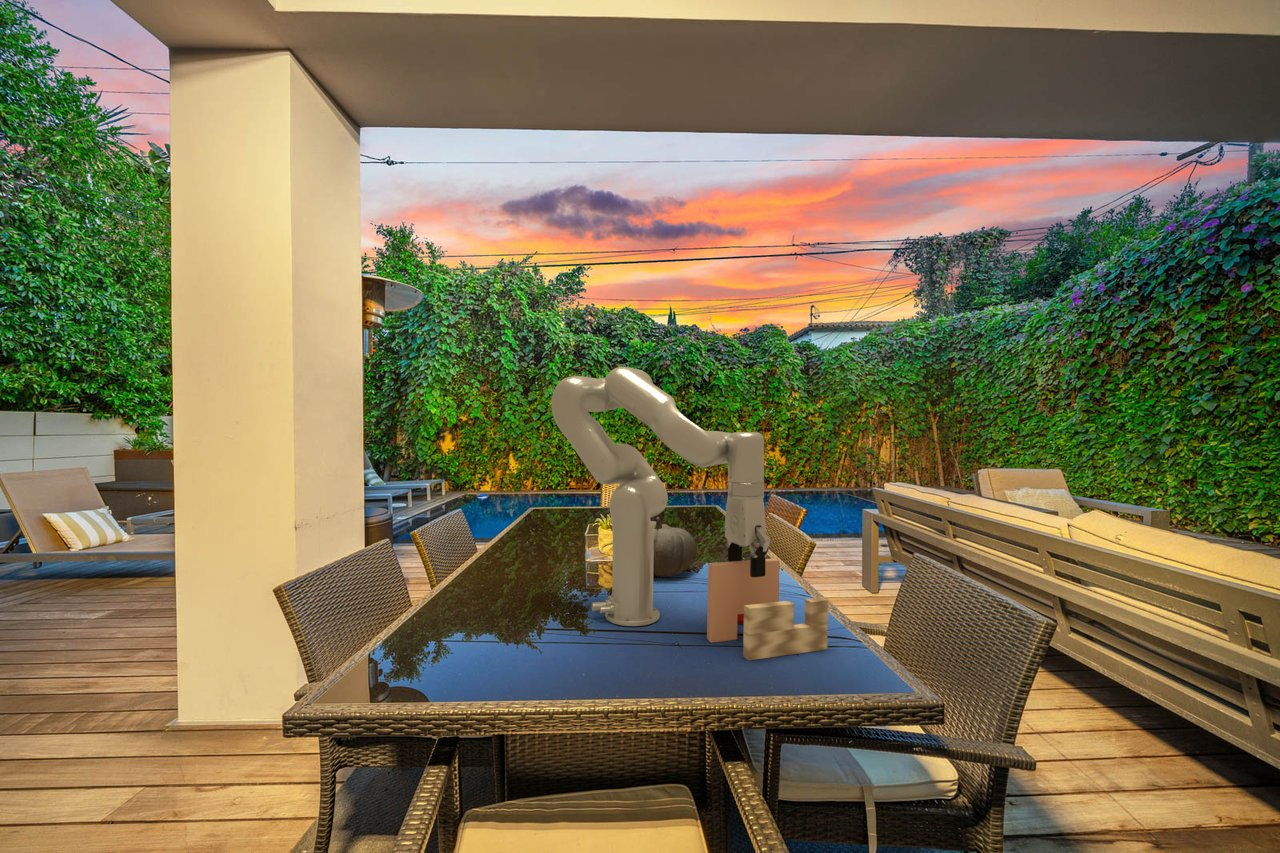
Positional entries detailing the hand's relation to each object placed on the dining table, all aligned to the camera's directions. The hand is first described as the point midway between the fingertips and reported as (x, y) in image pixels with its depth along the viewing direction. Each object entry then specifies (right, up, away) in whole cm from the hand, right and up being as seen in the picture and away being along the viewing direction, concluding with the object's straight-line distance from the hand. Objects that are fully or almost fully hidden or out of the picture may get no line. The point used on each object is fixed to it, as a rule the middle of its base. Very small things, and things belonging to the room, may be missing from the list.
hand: (746, 570), depth 121 cm
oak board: (+6, -14, -8) cm, 18 cm away
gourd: (-18, -14, +51) cm, 56 cm away
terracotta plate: (-1, -14, 0) cm, 14 cm away
